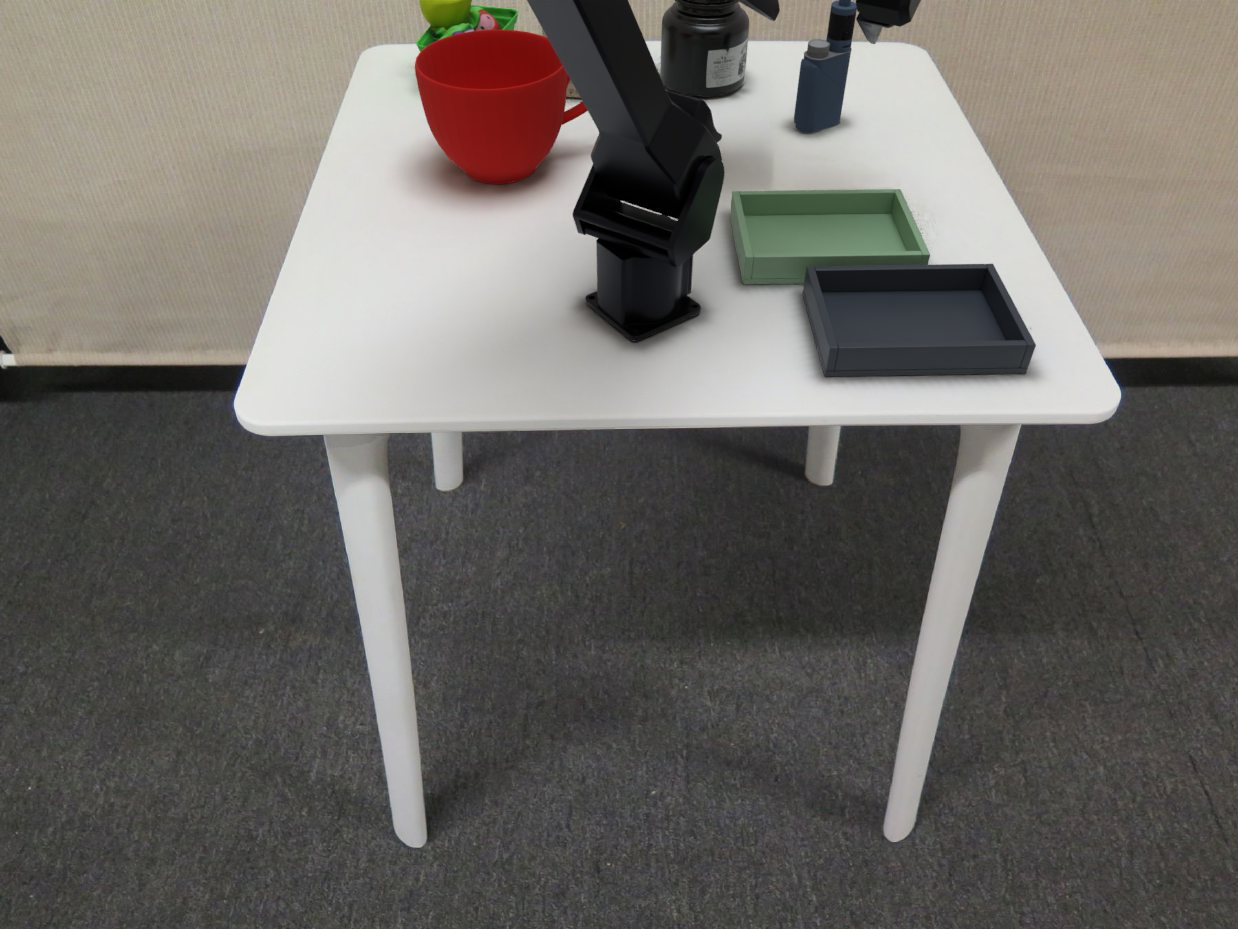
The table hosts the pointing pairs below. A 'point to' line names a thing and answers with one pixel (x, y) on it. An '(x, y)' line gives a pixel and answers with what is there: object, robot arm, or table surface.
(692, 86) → the ink bottle
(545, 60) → the ceramic cup
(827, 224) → the sage tray
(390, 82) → the table surface
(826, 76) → the vaping device
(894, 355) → the charcoal tray
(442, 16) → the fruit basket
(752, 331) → the table surface
